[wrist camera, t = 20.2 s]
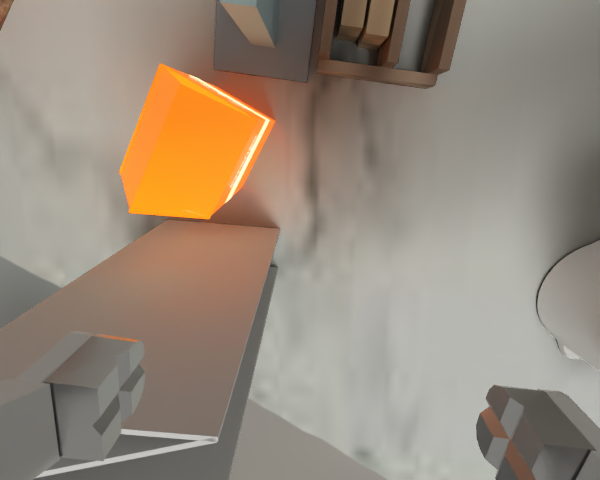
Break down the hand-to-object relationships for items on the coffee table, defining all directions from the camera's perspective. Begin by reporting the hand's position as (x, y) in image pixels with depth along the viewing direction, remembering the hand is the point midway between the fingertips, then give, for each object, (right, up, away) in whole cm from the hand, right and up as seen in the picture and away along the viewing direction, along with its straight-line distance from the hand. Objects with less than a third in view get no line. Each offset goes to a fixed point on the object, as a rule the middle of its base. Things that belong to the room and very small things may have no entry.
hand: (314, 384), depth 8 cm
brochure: (-10, +3, +36) cm, 37 cm away
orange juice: (-8, +15, +31) cm, 36 cm away
